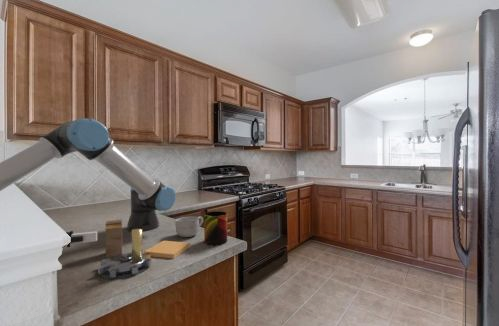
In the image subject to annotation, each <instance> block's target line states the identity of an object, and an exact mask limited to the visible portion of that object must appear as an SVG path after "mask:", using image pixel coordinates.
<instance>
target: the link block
mask: <svg viewBox="0 0 499 326" xmlns="http://www.w3.org/2000/svg"><path fill="white" fill-rule="evenodd" d="M120 253H121V254H123V219H112V220H106V222H105V258H112V257H114V256H116V254H120Z"/></svg>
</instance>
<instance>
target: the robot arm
mask: <svg viewBox="0 0 499 326" xmlns="http://www.w3.org/2000/svg"><path fill="white" fill-rule="evenodd" d="M75 152H78V153H79V154H81V155H82V156H83V157H84V158H86V159H87V160H88V161H96V162H98V163H99V164H100V165H102V166H103V167H104V168H105V169H107V170H108V171H109V172H111V173H112V174H113V175H114V176H116V177H117V178H118V179H119V180H121V181H122V182H123V183H125V185H127V186H129V188H130V215H129V219H128V221H127V224H126V226H127V227H126V230H127V231H130V232H132V230H133V229H138V228H141V229H142V232H146V231H150V230H154V229H157V228H158V227H160V221H159V218H158V216H157V215H158V214H157V213H156V212H157V211H159V212H167V211H169V210H170V209H172V208H173V206H174V205H175V202H176V199H177V198H176V195H177V193H176V191H175V189H174V188H172V187H171V186H169V185H167V186H166V185H164V183H162V182H161V181H160V180H159V179H157V178H151V176H149V175H148V174H147V173H146V172H145V171H144V170H142V169H141V168H140V167H139V166H138V165H137V164H136V163H134V162H133V161H132V160H131V159H130V158H129V157H127V155H126V154H125V153H123V152H122V151H121V150H120V149H118V147H117V146H115V145H114V139H113V138H112V137H111V136H110V134H109V130H108V129H107V127H106V125H104V124H103V123H102V122H100V121H98V120H96V119H93V118H85V117H84V118H83V117H81V118H77V119H75V120H72V121H68V122H64V123H62V124H61V125H59V126H57V127H56V128H54V129H53V130H51V131H50V132H48V133H46V134H45V135H43V136H41V137H39V141H38V142H36V143H34V144H32V145H31V146H29V147H27V148H25V149H23V150H21V151H19V152H17V153H16V154H13V155H12V156H11V157H8V158H6V159H5V160H3V161H1V162H0V192H2V191H3V190H5V189H6V188H8V187H9V186H11V185H14V184H15V183H16V182H18V181H19V180H21V179H22V178H24V177H27V176H28V175H30V174H31V173H33V172H35V171H37V170H38V169H39V168H41V167H43V166H44V165H46V164H48V163H50V162H51V161H53V160H54V159H61V158H64V156H67V155H68V154H72V153H75ZM65 232H66V231H65ZM66 233H67V234H68V235H69V236H70V237H71V242H70V243H69V244H68V245H65V246H64V247H63V248H65V247H66V248H70V247H71V245H73V244H82V243H90V242H91V243H92V242H97V241H98V230H96V231H88V232H86V231H85V232H77V233H74V231H73V230H70V231H67V232H66Z"/></svg>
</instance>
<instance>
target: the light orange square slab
mask: <svg viewBox="0 0 499 326" xmlns="http://www.w3.org/2000/svg"><path fill="white" fill-rule="evenodd" d="M190 247H191V242H186V241H173V240H172V241H171V240H162V241H160V242H159V243H157V244H155V245H153V246H152V247H150V248H147V249H146V250H144V252H143V254H147V253H150V254H151V257H155V258H165V259H176V258H177V257H178V256H179V255H181V254H182V253H183V252H185V251H186V250H187V249H189V248H190Z"/></svg>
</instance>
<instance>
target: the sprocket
mask: <svg viewBox="0 0 499 326" xmlns="http://www.w3.org/2000/svg"><path fill="white" fill-rule="evenodd" d="M151 265H152V256H151V254H150V253H147V254H144V252H143V231H142V229H141V228H138V229H133V230H132V231H131V252H127V253H122V254H121V253H120V254H116V256H112V257H109V258H108V259H105V258H104V259H102V260H101V261H100V266H98V267H97V274H98V275H99V276H100V275H101V274H104V273H106V274H109V275H110V277H117V276H118V275H123V274H128V273H131V274H135V273H138V270H140V269H141V268H143V267H149V266H150V267H151ZM150 267H149V268H150Z"/></svg>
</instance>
